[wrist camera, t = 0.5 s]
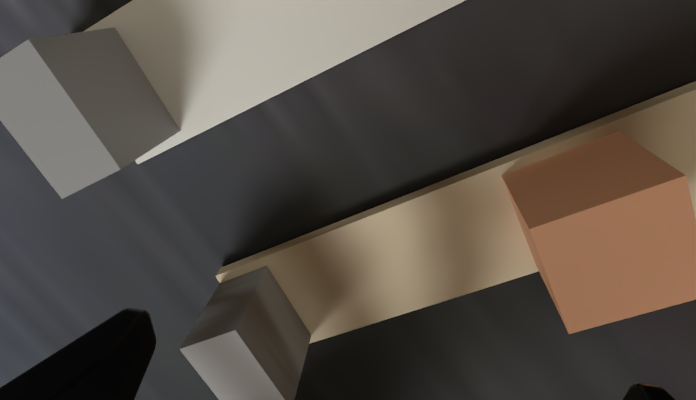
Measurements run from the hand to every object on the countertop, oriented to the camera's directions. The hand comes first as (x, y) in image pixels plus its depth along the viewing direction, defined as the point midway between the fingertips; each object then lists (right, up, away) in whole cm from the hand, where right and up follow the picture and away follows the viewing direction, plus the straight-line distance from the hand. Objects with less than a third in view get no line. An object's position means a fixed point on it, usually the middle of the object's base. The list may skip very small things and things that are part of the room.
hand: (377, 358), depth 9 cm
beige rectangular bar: (+4, +1, +15) cm, 15 cm away
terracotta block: (+10, +3, +12) cm, 16 cm away
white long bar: (-1, +12, +10) cm, 16 cm away
